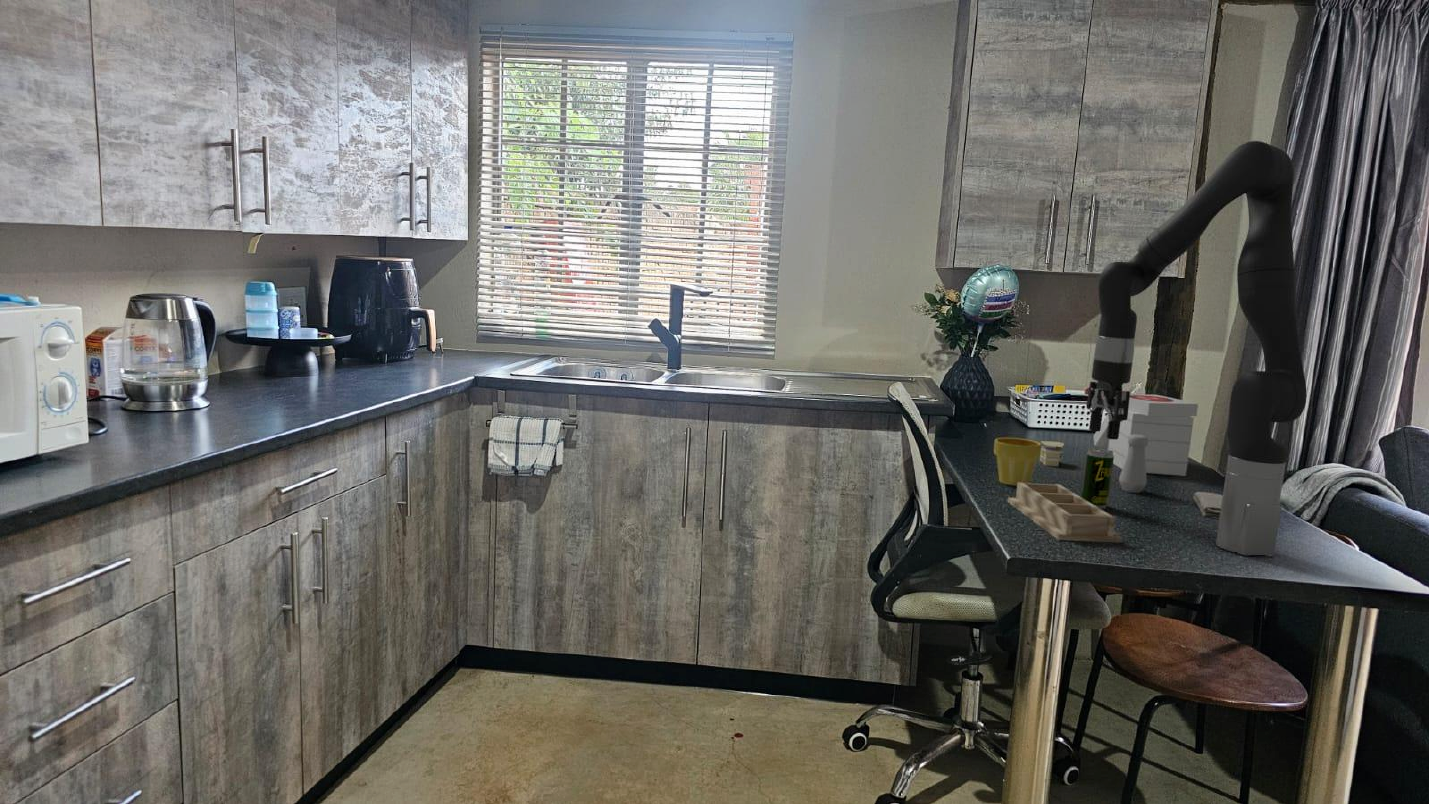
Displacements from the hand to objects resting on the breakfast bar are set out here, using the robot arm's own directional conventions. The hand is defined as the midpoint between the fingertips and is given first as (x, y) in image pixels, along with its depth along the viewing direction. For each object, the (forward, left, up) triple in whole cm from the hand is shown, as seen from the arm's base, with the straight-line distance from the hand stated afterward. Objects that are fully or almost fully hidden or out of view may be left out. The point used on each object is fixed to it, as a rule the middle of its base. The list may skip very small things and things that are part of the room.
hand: (1103, 434), depth 206 cm
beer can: (0, 0, -16) cm, 16 cm away
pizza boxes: (+50, -34, -16) cm, 62 cm away
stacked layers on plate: (+43, -8, -16) cm, 46 cm away
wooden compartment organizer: (-14, +13, -15) cm, 25 cm away
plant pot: (+18, +11, -16) cm, 26 cm away
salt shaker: (+16, -16, -16) cm, 27 cm away
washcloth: (+1, -30, -16) cm, 34 cm away
